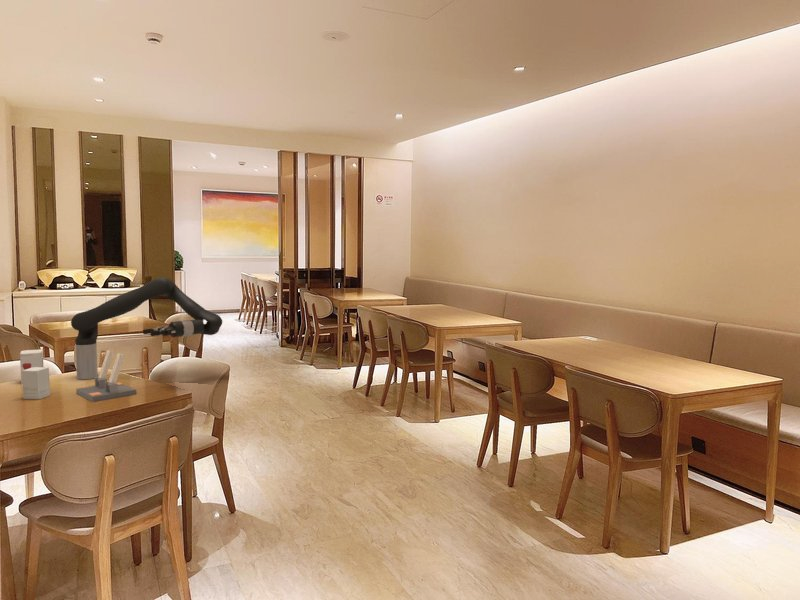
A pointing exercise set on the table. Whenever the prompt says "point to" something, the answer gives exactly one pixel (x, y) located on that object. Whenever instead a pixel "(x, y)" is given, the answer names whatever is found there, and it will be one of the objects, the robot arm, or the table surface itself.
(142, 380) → the table surface
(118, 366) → the lever near
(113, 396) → the switch base
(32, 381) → the supplement box
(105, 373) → the lever far
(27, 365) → the supplement box
